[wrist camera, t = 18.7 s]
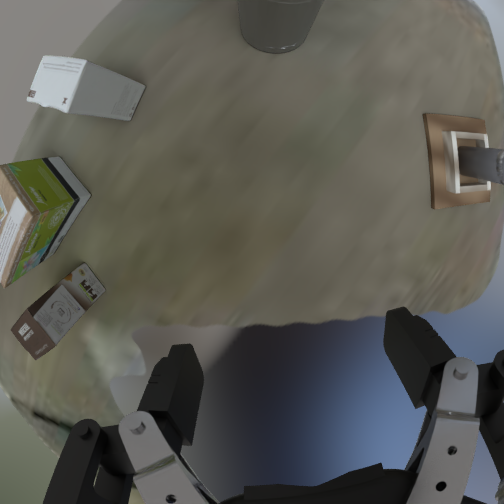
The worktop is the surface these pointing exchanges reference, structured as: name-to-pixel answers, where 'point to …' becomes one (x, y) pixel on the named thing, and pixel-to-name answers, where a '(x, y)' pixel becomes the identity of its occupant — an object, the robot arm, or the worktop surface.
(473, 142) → the mount board
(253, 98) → the worktop surface
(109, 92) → the skincare box
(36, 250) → the tea box
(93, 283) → the coffee box
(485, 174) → the dark grey cylinder
